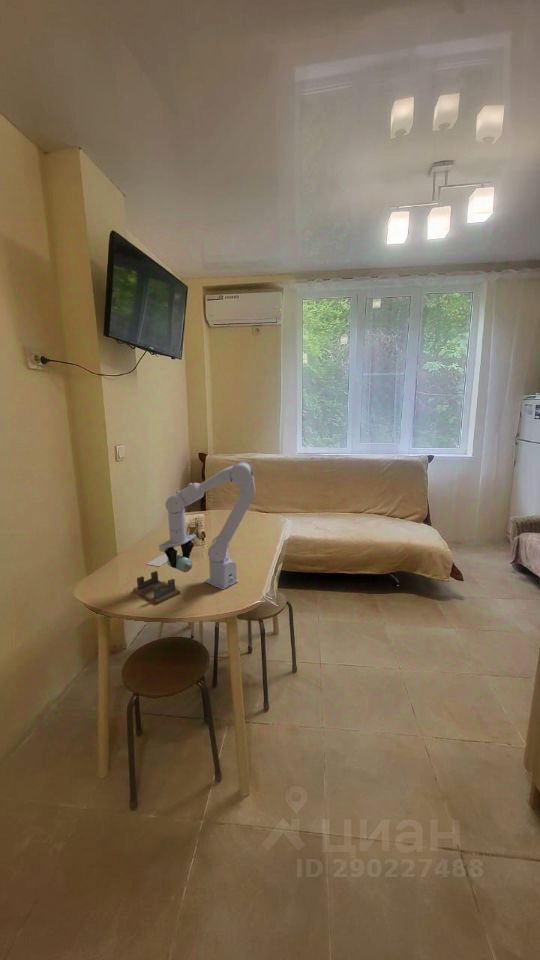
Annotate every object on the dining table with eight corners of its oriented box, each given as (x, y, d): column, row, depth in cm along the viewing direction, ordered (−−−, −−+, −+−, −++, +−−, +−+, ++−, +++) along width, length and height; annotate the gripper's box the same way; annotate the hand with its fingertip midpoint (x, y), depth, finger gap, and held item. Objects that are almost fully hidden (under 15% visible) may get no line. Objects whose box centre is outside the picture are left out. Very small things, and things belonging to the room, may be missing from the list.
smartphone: (181, 553, 157) (159, 566, 143) (181, 554, 157) (159, 567, 143) (168, 551, 160) (145, 564, 146) (168, 552, 160) (145, 565, 146)
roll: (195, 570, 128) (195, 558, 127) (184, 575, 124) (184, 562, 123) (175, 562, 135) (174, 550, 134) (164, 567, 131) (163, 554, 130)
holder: (180, 593, 122) (179, 579, 121) (157, 604, 115) (156, 590, 114) (156, 581, 130) (155, 568, 130) (133, 591, 124) (132, 577, 123)
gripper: (187, 521, 135) (189, 555, 137) (152, 531, 124) (155, 568, 126) (199, 524, 130) (201, 560, 133) (165, 535, 119) (167, 573, 122)
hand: (179, 564), depth 129 cm, fingers closed on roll, 5 cm apart
